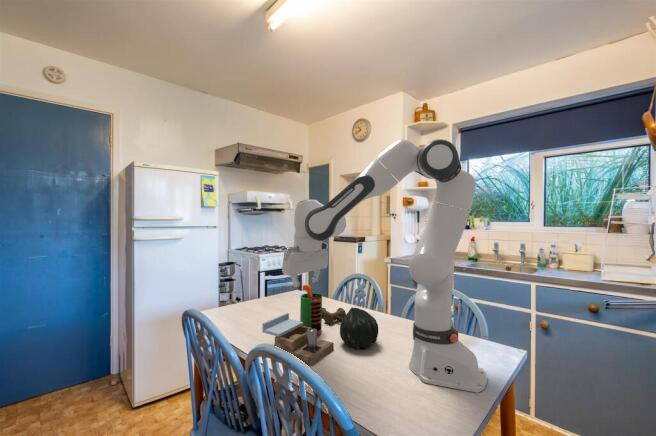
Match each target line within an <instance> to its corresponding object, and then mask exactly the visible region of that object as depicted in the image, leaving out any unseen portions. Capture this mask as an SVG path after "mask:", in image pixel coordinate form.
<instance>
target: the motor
mask: <svg viewBox="0 0 656 436" xmlns="http://www.w3.org/2000/svg"><path fill="white" fill-rule="evenodd" d="M302 291H306V292H307V293H302V294H301V295H300V305H299V306H300V308H299V309H300V310H299V311H300V313H299V314H300V315H299V317H300V319H299V321H300V322H303V325H302V326H306V327H310V328H315V329H317V337H319V335H320V336H321V335H322V326H323V325H322V324H323V323H322V322H323V321H322V318H323V317H322V308H323V294H322V293H319V292H313V291H312V286H311V285H310V284H303V285H302Z"/></svg>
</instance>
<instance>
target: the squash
mask: <svg viewBox="0 0 656 436" xmlns="http://www.w3.org/2000/svg"><path fill="white" fill-rule="evenodd" d="M339 337H340V339H341V340H342V341H343V342H344V343H345V345H346V346H347V347H351V348H352V347H354V348H355V349H356V350H359V349H361V348H362V349H369V347H370V346H371V345H374V344H375V343H377V340H378V337H379V324H378V322H377V320H376V318H374V316H372V315H371V314H370V313H369V312H367V311H366V310H364V309H360V308H359V307H350V309H349V310H348V312H346V315H345V317H344V318H343V320H342V321H341V322H340V326H339Z"/></svg>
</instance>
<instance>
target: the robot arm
mask: <svg viewBox="0 0 656 436" xmlns="http://www.w3.org/2000/svg"><path fill="white" fill-rule="evenodd" d="M413 172H415V173H416V174H417V173H418V175H421V176H422V177H424V178H427V179H430V180H434V181H435V183H436V191H435V195H434V198H433V201H432V205H431V208H430V210H429V214H428V217H427V221H426V224H425V226H424V229H423V231H422V233H421V236H420V237H419V240H418V242H417V244H416V246H415V249H414V251H413V254H412V257H411V259H409V262H408V268H407V269H408V273H409V276H410V277H411V279H412V280H413V281H414V282H415V283H417V288H416V292H415V297H414V322H413V323H412V336H413V337H412V339H413V348H412V355H411V358H410V361H409V365H408V366H409V369H410V370H411V371H412V373H414V374H415V375H416V376H417V377H418V378H419V379H420V381H421V382H422V383H424V384H425V383H426V384H430V385H434V386H441V387H446V388H451V389H455V390H461V391H466V392H471V393H472V392H473V393H480V392H482V391H485V389H486V387H487V383H488V376H487V373H486V371H485V370H484V369H482V368H481V367H479V363H478V359H477V357H476V355H475V353H474V352H473V351H472V350H470V349H469V347H467V346H465V345H464V344H463V343H462V341H460V340H459V328H458V327H457V328H456V329H455V328H454V326H452V301H453V300H452V298H453V297H452V296H453V289H454V277H455V258H454V256H455V254H456V251H457V248H458V246H459V243H460V241H461V239H462V237H463V235H464V231H465V228H466V225H467V221H468V220H469V219H468V218H469V216H470V211H471V209H472V206H473V202H474V198H475V192H476V182H477V181H476V178H475V177H474V176H473V175H472V174H471V173H470V172H468V171H465V170H462V164H461V161H460V156H459V152H458V150H457V147H456V146H455V144H453V143H452V142H451V141H449V140H446V139H441V138H440V139H439V138H438V139H434V140H431V141H428V142H427V143H426V144H425V145H424V146H422V147H419V146H417V145H415V144H414V143H413V142H411V141H410V140H408V139H405V138H404V139H403V138H402V139H398V140H396V141H395V142H393V143H392V144H390V145H389V146H387V147H386V148H384V150H382V151H381V152H380V153H379V154H378V155H376V156H375V158H374V159H372V160H371V162H369V164H367V166H366V167H365V168H364V169H363V170H361V172H360V173H359V174H358V175H357V176H356V177H355V178H354V180H352V181H351V182H350V183H349V184H348V185H347V186H346V187H344V188H343V189H342V190H341V191H340V192H338V194H337V195H336V196H334V197H333V198H332V199H331V200H329V202H327V203H326V204H323V203H321V202H319V201H318V199H312V198H311V199H304V200H300V201H298V202H297V203H296V204H295V205H296V206H295V209H294V222H293V225H294V228H295V229H294V230H295V231H294V236H293V246H292V247H291V246H289V247H287V248H286V249H285V250H284V252H283V259H282V266H281V273H282V274H283V275H284V276H290V279H291V280H292V282H293V283H292V284H293V285H292V287H294V288H299V287H300V286H301V281H299V280H298V278H299V275H300V274H304V273H310V272H313V275H312V276H313V277H311V282H312V283H314V284H315V283H318V282H319V277H320V274H321V270H324V269H327V267H328V265H329V251H328V249H329V244H328V243H327V242H325V241H324V240H327V239H329V238H334V237H338V236H339V235H341V234H342V233H343V232H344V231H345V230H346V226H347V219H346V217H345V216H346V215H347V214H348V213H350V212H351V211H352V210H353V209H355V207H357V206H358V205H359V204H360V203H362V202H363V201H366V200H368V199H371V198H375V197H379V196H382V195H384V194H385V193H388V192H389V191H391V190H392V189H393V188H394V187H395V186H397V185H398V184H399V183H400V182H401V181H403V180H404V179H405V177H406V176H408V175H409V174H411V173H413Z"/></svg>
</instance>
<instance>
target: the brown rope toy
mask: <svg viewBox="0 0 656 436" xmlns="http://www.w3.org/2000/svg"><path fill="white" fill-rule="evenodd" d="M346 314H347V312H346V310H345V309H344V308H343V307H339V308H337V309H336V312H335V311H334V312H330V311H328V310H327V309H326V308H325V307H322V318H323V320H324V323H325V324H326V325H329V326H330V325H332V324H333V323H334V322H335V321H337V320H338V321H341V322H342V320H343V318H344V317H345V315H346Z"/></svg>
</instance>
